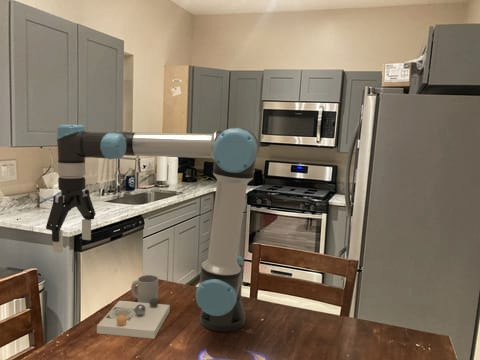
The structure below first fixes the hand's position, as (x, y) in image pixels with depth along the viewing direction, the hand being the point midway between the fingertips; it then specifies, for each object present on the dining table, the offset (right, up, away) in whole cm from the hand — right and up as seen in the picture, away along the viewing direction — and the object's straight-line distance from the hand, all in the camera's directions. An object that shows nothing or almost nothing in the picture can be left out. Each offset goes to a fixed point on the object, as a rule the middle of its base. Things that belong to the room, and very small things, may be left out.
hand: (73, 245), depth 124 cm
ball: (+19, -22, +8) cm, 30 cm away
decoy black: (+22, -22, +15) cm, 34 cm away
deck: (+17, -26, +9) cm, 33 cm away
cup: (+16, -25, +24) cm, 38 cm away
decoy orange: (+14, -23, +1) cm, 27 cm away
